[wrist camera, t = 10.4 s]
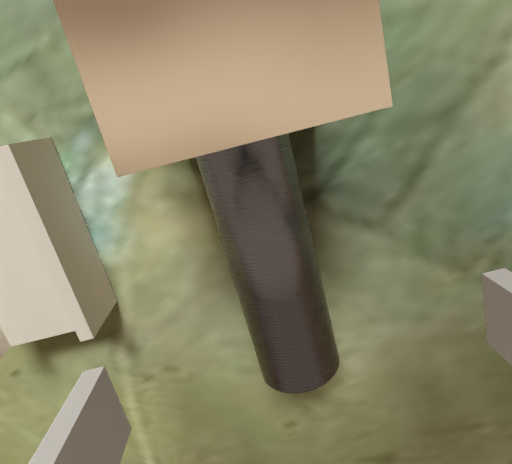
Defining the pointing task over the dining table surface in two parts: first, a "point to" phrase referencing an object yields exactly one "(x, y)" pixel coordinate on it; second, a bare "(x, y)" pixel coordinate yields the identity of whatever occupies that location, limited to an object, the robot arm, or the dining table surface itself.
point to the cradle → (45, 252)
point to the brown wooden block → (221, 71)
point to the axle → (272, 261)
